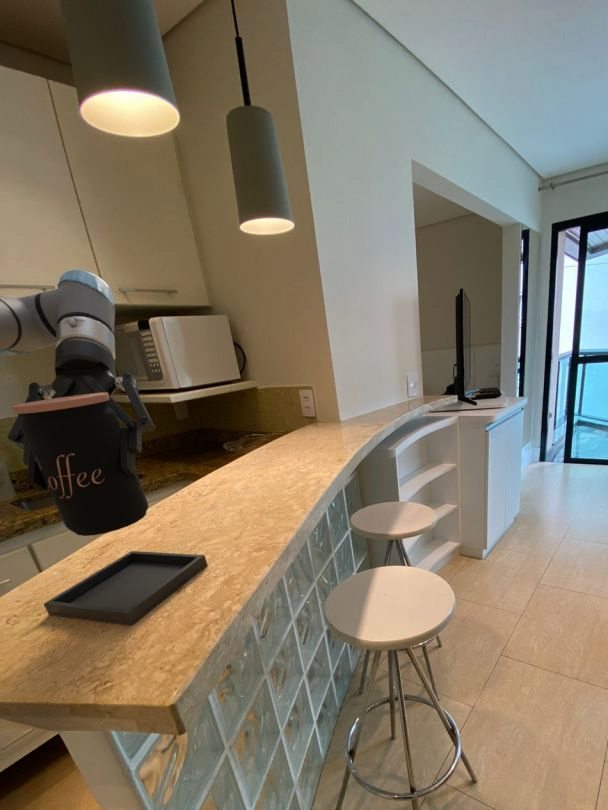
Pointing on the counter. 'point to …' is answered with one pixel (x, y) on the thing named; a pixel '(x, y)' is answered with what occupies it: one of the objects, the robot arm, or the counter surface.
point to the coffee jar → (83, 462)
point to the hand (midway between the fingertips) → (83, 479)
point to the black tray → (127, 587)
